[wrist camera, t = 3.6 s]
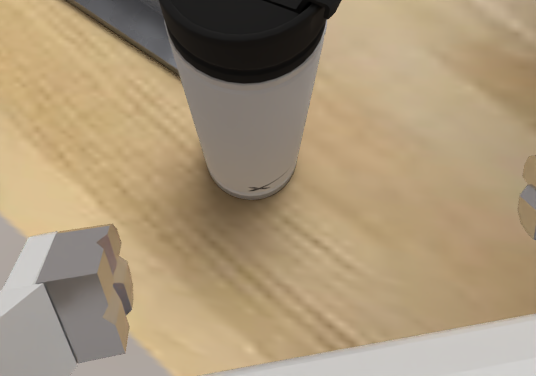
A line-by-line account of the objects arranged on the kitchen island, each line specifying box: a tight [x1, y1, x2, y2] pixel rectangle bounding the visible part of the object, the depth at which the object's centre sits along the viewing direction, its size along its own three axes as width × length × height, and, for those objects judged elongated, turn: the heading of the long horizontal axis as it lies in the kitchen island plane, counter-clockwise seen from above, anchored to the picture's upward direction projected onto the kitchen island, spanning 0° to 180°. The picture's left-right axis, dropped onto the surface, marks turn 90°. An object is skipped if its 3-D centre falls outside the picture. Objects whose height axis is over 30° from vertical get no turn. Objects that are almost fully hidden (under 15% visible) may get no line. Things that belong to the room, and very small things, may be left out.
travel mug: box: [159, 0, 341, 200], centre depth 26 cm, size 6×7×20 cm
